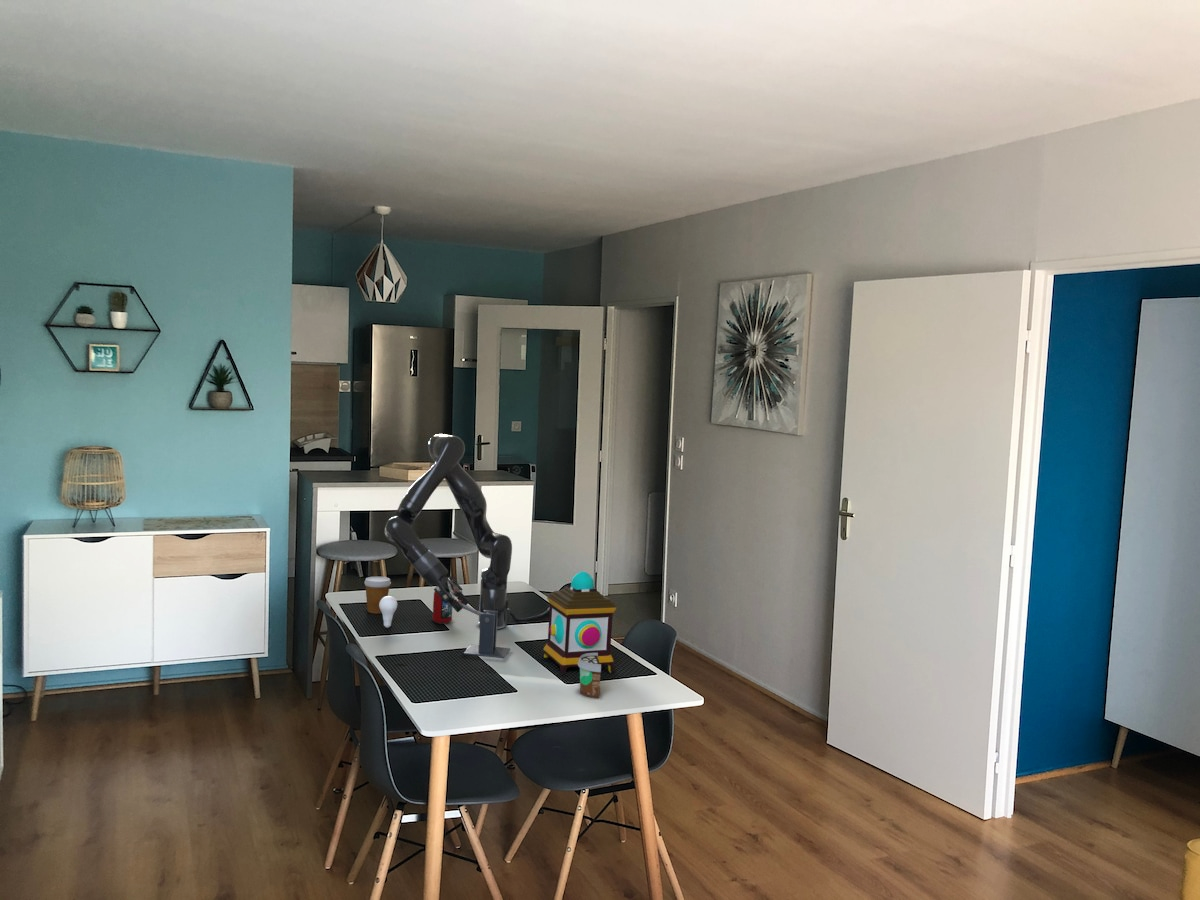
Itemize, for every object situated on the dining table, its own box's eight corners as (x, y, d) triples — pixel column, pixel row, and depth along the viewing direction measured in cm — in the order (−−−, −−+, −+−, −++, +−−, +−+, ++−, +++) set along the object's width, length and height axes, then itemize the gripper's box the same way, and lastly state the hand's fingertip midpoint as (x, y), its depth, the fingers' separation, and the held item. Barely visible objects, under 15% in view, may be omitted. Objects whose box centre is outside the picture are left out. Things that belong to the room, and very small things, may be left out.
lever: (452, 608, 296) (455, 601, 296) (456, 604, 301) (459, 597, 301) (489, 625, 295) (492, 618, 295) (493, 621, 300) (496, 614, 300)
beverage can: (447, 625, 331) (449, 591, 330) (429, 623, 332) (431, 589, 331) (454, 620, 337) (456, 587, 336) (436, 618, 339) (438, 585, 338)
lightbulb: (399, 626, 325) (401, 595, 324) (390, 630, 319) (391, 599, 318) (384, 624, 327) (385, 593, 326) (374, 628, 321) (376, 596, 320)
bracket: (462, 657, 294) (465, 614, 293) (470, 648, 304) (473, 606, 303) (503, 661, 293) (506, 618, 292) (510, 652, 303) (512, 610, 302)
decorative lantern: (536, 658, 298) (542, 565, 296) (594, 655, 306) (599, 564, 304) (559, 678, 280) (564, 579, 277) (619, 674, 287) (625, 577, 285)
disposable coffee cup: (376, 616, 337) (377, 583, 336) (357, 611, 342) (358, 578, 341) (395, 611, 345) (396, 579, 344) (376, 606, 350) (378, 575, 349)
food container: (574, 684, 275) (576, 651, 274) (595, 685, 275) (597, 652, 275) (577, 699, 263) (579, 664, 262) (599, 700, 263) (601, 665, 262)
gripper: (432, 565, 291) (466, 605, 291) (444, 556, 305) (477, 594, 305) (414, 580, 292) (449, 620, 292) (428, 571, 306) (461, 609, 306)
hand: (463, 607), depth 298 cm, fingers open, 7 cm apart
